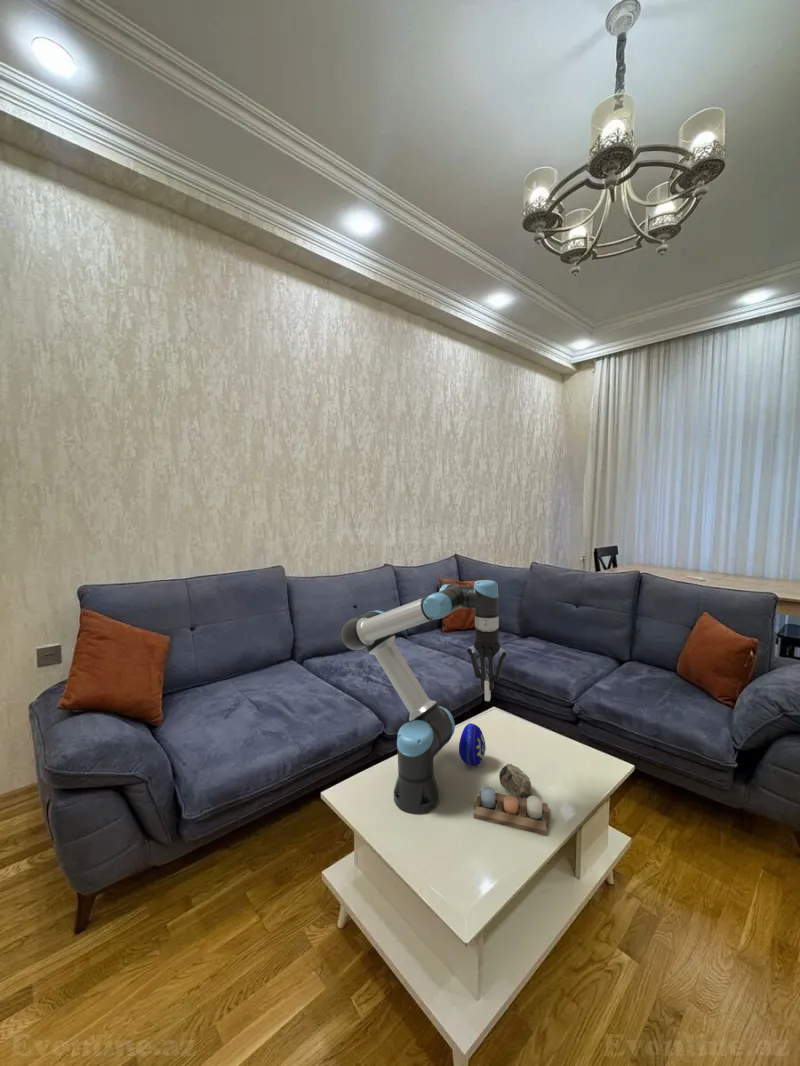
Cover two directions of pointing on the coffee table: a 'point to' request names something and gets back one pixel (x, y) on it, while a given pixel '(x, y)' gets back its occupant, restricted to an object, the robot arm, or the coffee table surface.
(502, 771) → the stone
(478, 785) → the coffee table surface
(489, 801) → the button slate
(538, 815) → the button cream
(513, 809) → the button terracotta
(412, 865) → the coffee table surface
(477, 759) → the ornament
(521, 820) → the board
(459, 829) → the coffee table surface
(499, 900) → the coffee table surface
